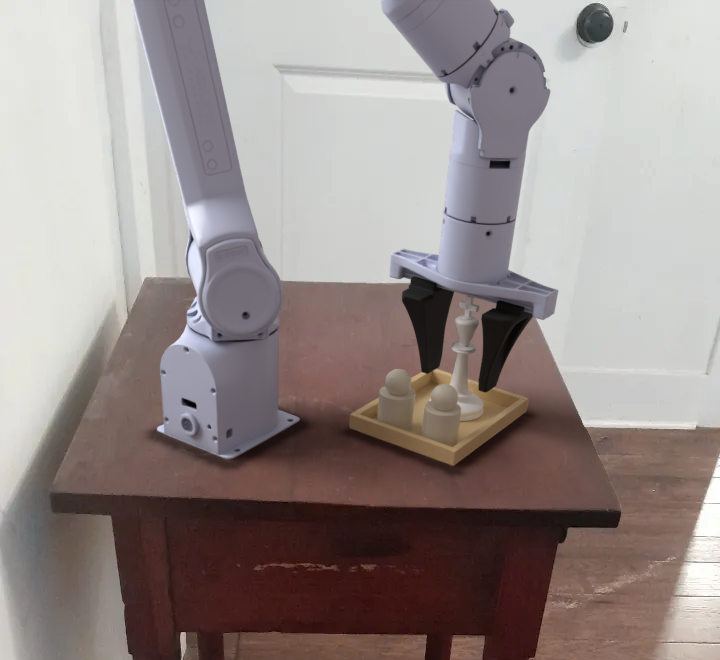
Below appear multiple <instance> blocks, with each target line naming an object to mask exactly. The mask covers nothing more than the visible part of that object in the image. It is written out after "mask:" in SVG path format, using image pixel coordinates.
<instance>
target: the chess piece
mask: <svg viewBox="0 0 720 660" xmlns="http://www.w3.org/2000/svg"><path fill="white" fill-rule="evenodd" d="M474 298H475V297H471V296H468V295H466V299H465V300H460V301H459V302H458V308H461V309H464V314H461V315H458V316H456V317H455V318H454V324H455V328H456V335H457V339H458V340H457V341H454V342H452V344H451V346H450V350H452V351H453V352H454V353H456V358H455V362H454V366H453V369H452V370H453V371H452V373H451V374H452V378H451V381H450V385H451V386H452V387H454V388H455V390H456V392H457V394H458V401H457V404H458V405H459V406H460V407H461V416H460V421H469V420H474V419H477V418H479V417H480V416H481V415H482V414H483V412H484V410H483V406H484V404H483V401H482V400H481V399H480V398H479V397H478V396H476V395H475V394H472V393H471V391H470V390H469V389H468V379H469V355H471V354H474V353H475V352H476V351H477V346H476V345H475V343H473V342H471V341H472V339H473V337H474V335H475V333H476V330H477V329H478V327H479V325H480V319H478V318H477V317H476V316H473V315H472V313H473V312H474V313H478V312H479V311H480V305H478V304H475V303H474V300H475V299H474ZM430 401H431V397H430Z"/></svg>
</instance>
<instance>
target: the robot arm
mask: <svg viewBox="0 0 720 660" xmlns="http://www.w3.org/2000/svg"><path fill="white" fill-rule="evenodd" d="M130 1H131V4H132V9H133V12H134V16H135V20H136V24H137V28H138V32H139V36H140V40H141V44H142V46H143V47H142V48H143V52H144V55H145V59H146V63H147V65H148V66H147V67H148V71H149V75H150V79H151V83H152V87H153V90H154V95H155V98H156V101H157V106H158V109H159V113H160V117H161V122H162V125H163V129H164V133H165V137H166V140H167V144H168V148H169V152H170V156H171V160H172V164H173V169H174V171H175V175H176V179H177V183H178V187H179V191H180V195H181V201H182V207H183V211H184V215H185V219H186V223H187V229H188V239H187V243H186V244H187V245H186V247H185V251H184V253H185V255H184V261H185V268H186V271H187V274H188V276H189V278H190V280H191V281H192V284H193V288H194V290H195V293H196V296H195V298H194V299H193V301H192V303H191V305H190V308H189V309H188V310H187V311H186V325H185V328H184V330H183V332H182V334H181V336H179V338H178V339H177V340H176V341H174V342H173V343H172V344H171V345H169V346H168V347H167V348H166V349H165V350H164V352H163V354H162V356H161V359H160V365H159V374H160V390H161V402H162V405H161V406H162V416H163V417H162V419H163V424H161V425H159V426H158V427H156V431H157V432H158V433H160V434H163V435H164V436H165V435H166V436H167V437H170V438H173V439H175V440H178V441H180V442H182V443H185V444H187V445H190V446H193V447H195V448H198V449H200V450H202V451H205V452H207V453H210V454H212V455H214V456H217V457H220V458H222V459H224V460H233V459H235V458H237V457H239V456H240V455H242V454H244V453H246V452H248V451H249V450H251V449H253V448H255V447H256V446H258V445H260V444H262V443H264V442H266V441H267V440H269V439H271V438H273V437H274V436H276V435H277V434H279V433H282V432H283V431H285V430H286V429H288V428H290V427H291V426H295V424H297V423H299V422H300V421H301V419H300V417H298V416H297V415H293V414H292V413H289V412H285V411H283V410H281V409H279V394H280V393H279V388H280V386H279V385H280V381H279V380H280V379H279V377H280V375H279V374H280V316H279V315H280V313H281V310H282V308H283V307H282V306H283V304H284V303H283V302H284V288H283V283H282V279H281V278H280V276H279V273H278V272H277V270H276V269H275V268H274V266H273V265H272V263H271V262H270V261H269V259H268V257H267V255H266V254H265V251H264V247H263V244H262V242H261V240H260V238H259V233H258V230H257V227H256V223H255V219H254V216H253V213H252V210H251V206H250V203H249V200H248V196H247V192H246V188H245V182H244V178H243V175H242V169H241V164H240V160H239V155H238V150H237V146H236V141H235V137H234V132H233V128H232V124H231V123H232V122H231V119H230V114H229V110H228V104H227V100H226V96H225V91H224V86H223V81H222V77H221V71H220V68H219V63H218V58H217V53H216V49H215V44H214V40H213V35H212V31H211V26H210V22H209V16H208V13H207V12H208V11H207V8H206V2H205V0H130ZM380 4H381V11H382V13H383V14H384V16H385V17H386V18H387V19H388V20H389V21H390V22H391V24H392V25H393V26H394V28H395V29H396V30H397V31H398V32H399V33H400V34H401V36H402V37H403V38H404V39H405V41H406V42H407V43H408V44H409V45H410V46H411V48H412V49H413V50H414V52H416V54H417V55H418V56H419V57H420V58H421V60H422V61H423V62H424V64H426V66H427V67H428V68H429V69H430V70H431V72H432V73H433V74H434V75H435V77H436V78H437V80H439V81H440V82H442V83H444V89H445V94H446V97H447V99H448V102H449V103H450V104H452V105H454V106H456V107H457V109H455V110H454V117H453V124H452V125H453V126H452V134H451V144H450V148H449V154H448V155H449V156H448V166H447V174H446V175H447V176H446V185H445V192H444V203H443V211H442V221H441V229H440V230H441V231H440V239H439V250H438V254H436V253H430V252H429V253H428V252H422V251H415V250H411V249H406V248H402V249H399V250H397V251H394V252H392V253H390V260H389V261H390V263H389V275H388V276H389V277H390V278H393V279H397V280H402V279H407V280H410V281H409V284H408V288H406V289H404V290H403V291H402V292H401V302H402V304H403V306H404V308H405V310H406V312H407V315H408V317H409V319H410V322H411V325H412V327H413V332H414V335H415V338H416V339H415V340H416V344H417V350H418V355H419V360H420V361H419V363H420V370H421V372H423V373H426V374H429V373H430V372H432V371H434V370H435V369H439V368H440V366H441V363H442V357H443V351H444V342H445V333H446V327H447V321H448V316H449V312H450V308H451V304H452V301H453V298H454V295H455V293H458V294H461V295H464V296H471V297H474V298H475V299H479V300H482V301H485V302H489V303H493V304H495V307H492V308H490V309H489V310H486V312H483V313H482V314H481V318H480V320H481V328H482V329H481V330H482V357H481V363H480V370H479V376H478V382H479V391H482V392H488V391H489V390H491V389H492V388H494V387H495V388H496V387H497V385H498V383H499V382H498V381H499V379H500V377H501V373H502V372H503V368H504V366H505V364H506V361H507V359H508V357H509V355H510V353H511V351H512V349H513V347H514V346H515V344H516V342H517V341H518V339H519V337H520V336H521V334H522V333H523V331H524V329H526V327H527V326H528V324H529V323H530V322H531V320H532V319H533V318H535V319H537V320H541V321H544V320H547V318H550V317H551V316H553V315H554V314H555V312H556V306H557V301H558V295H559V289H557V288H553V287H549V286H547V285H544V284H541V283H539V282H536V280H535V281H534V280H532V279H530V278H528V277H526V276H523V275H521V274H519V273H516V272H514V271H512V270H510V261H511V254H512V248H513V242H514V241H513V240H514V233H515V227H516V221H517V216H518V209H519V202H520V196H521V190H522V184H523V178H524V177H523V176H524V171H525V170H524V169H525V163H526V156H527V149H528V148H527V146H528V140H529V135H530V131H531V129H532V128H533V126H534V125H535V124H536V122H537V121H538V120H539V119H540V117H541V116H542V114H543V113H544V111H545V109H546V107H547V105H548V103H549V99H550V95H551V89H549V88H548V86H547V77H545V74H544V73H546V70H545V65H544V62H543V60H542V58H541V56H540V55H539V53H538V52H537V51H536V50H535V49H533V48H532V47H531V46H530V45H528V44H526V43H524V42H522V41H519V40H517V39H514V38H512V37H511V28H512V26H513V24H514V23H515V19H514V18H513V16H512V15H511V14H510V12H509V11H508V9H505V8H500V9H499V10H498V9H497V7H496V6H495V5H494V3H493V1H492V0H380Z"/></svg>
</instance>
